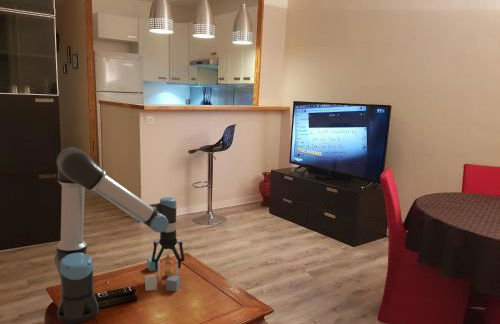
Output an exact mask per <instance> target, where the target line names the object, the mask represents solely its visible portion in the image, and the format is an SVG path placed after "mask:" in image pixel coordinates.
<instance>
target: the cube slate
mask: <svg viewBox="0 0 500 324" xmlns="http://www.w3.org/2000/svg"><path fill="white" fill-rule="evenodd" d="M180 287H181V276H180V275H178V276H177V275H173V274H172V275H169V277H168V276H167V278H166V280H165V291H172V292H178V289H179V288H180Z"/></svg>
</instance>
